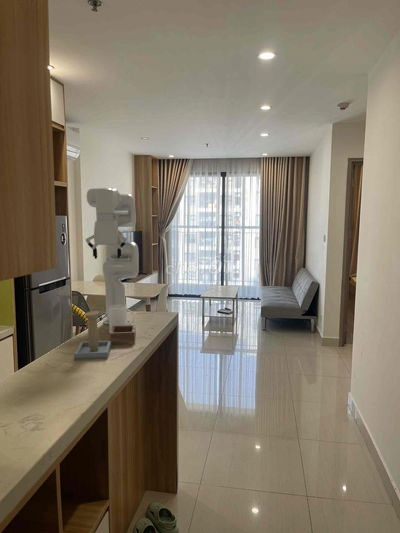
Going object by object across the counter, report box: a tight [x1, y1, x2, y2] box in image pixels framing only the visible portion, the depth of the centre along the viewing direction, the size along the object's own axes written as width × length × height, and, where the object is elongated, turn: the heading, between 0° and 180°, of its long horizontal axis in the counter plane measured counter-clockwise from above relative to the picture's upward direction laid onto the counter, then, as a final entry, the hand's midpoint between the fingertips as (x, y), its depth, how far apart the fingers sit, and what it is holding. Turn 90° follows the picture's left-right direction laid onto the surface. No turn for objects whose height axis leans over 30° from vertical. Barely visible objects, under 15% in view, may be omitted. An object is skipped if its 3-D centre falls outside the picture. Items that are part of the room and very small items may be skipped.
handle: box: [84, 310, 100, 351], centre depth 152 cm, size 5×6×15 cm
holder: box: [109, 324, 137, 346], centre depth 167 cm, size 11×10×5 cm
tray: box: [73, 340, 112, 361], centre depth 152 cm, size 14×12×2 cm
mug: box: [108, 304, 135, 334], centre depth 179 cm, size 12×8×12 cm
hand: (107, 258), depth 168 cm, fingers open, 9 cm apart
